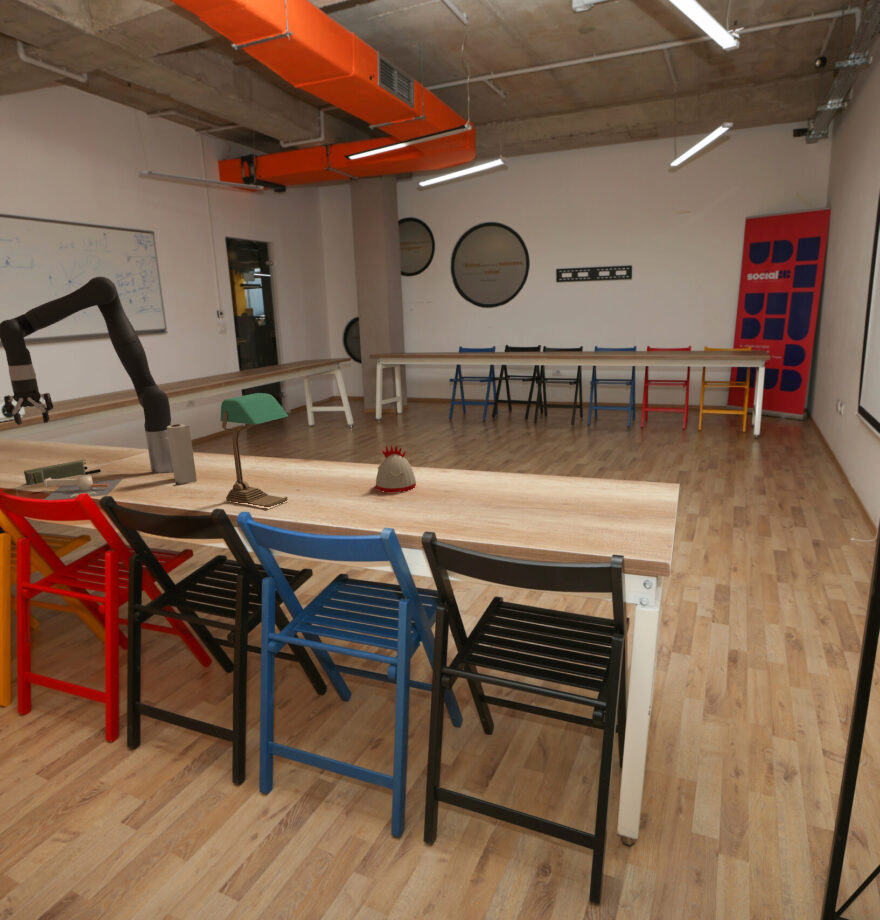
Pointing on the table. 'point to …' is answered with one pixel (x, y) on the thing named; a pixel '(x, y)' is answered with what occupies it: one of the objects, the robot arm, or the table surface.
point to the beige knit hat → (395, 472)
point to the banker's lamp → (238, 411)
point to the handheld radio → (57, 472)
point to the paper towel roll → (181, 453)
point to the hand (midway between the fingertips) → (33, 423)
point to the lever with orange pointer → (75, 483)
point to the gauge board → (73, 491)
